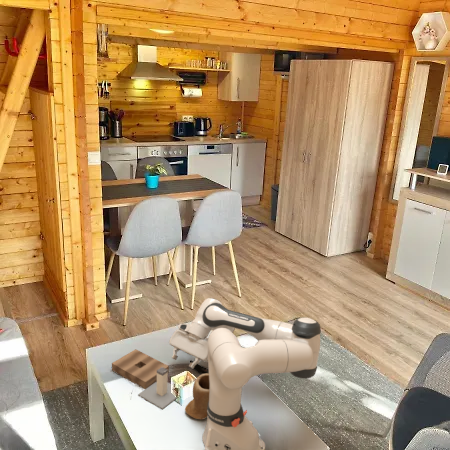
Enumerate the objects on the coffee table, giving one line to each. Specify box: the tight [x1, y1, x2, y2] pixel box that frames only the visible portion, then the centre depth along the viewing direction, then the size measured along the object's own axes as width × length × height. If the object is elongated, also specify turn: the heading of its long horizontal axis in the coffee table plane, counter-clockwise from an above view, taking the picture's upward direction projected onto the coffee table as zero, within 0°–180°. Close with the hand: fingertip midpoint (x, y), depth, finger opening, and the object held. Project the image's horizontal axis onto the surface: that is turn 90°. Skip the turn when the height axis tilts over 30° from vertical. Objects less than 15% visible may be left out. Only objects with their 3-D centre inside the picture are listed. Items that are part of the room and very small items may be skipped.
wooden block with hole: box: [111, 349, 170, 390], centre depth 196 cm, size 20×14×4 cm
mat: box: [137, 381, 178, 410], centre depth 184 cm, size 13×13×1 cm
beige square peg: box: [157, 367, 169, 396], centre depth 182 cm, size 3×3×10 cm
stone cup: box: [184, 373, 210, 420], centre depth 174 cm, size 15×12×15 cm
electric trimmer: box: [188, 359, 209, 375], centre depth 198 cm, size 4×16×3 cm, turn 50°
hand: (182, 363), depth 191 cm, fingers open, 8 cm apart
